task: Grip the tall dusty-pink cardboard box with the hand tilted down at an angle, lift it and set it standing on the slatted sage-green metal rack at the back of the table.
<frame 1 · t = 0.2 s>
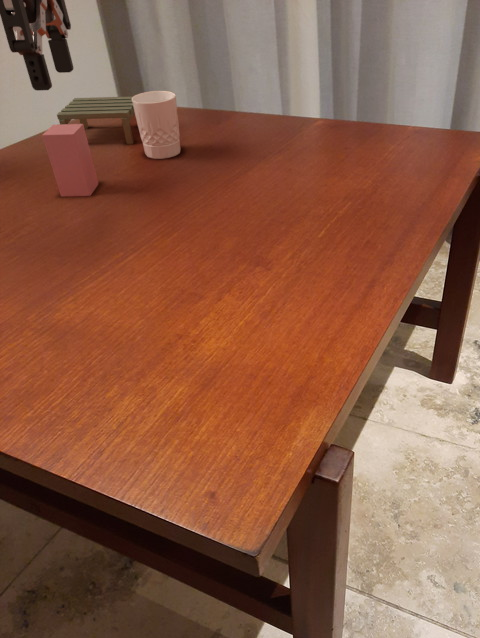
hand: (54, 80, 70), 20 cm above the table, tool pointing down, fingers open, 8 cm apart
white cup: (163, 154, 106), on the table
rack: (107, 135, 115), on the table
pink box: (80, 190, 94), on the table
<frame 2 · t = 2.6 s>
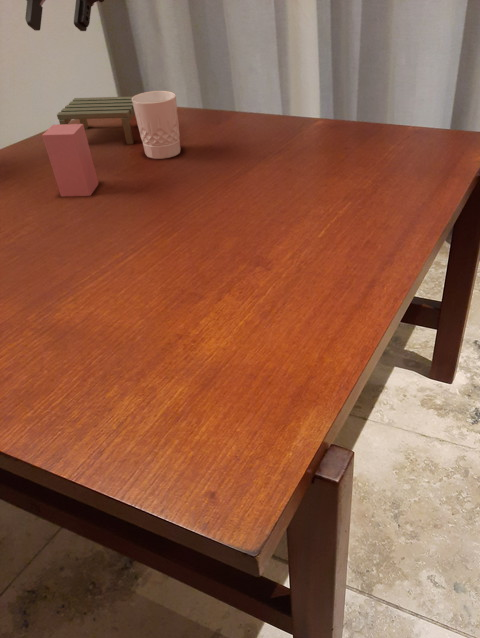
hand: (56, 28, 85), 22 cm above the table, tool tilted 35°, fingers open, 8 cm apart
nothing on the table moved.
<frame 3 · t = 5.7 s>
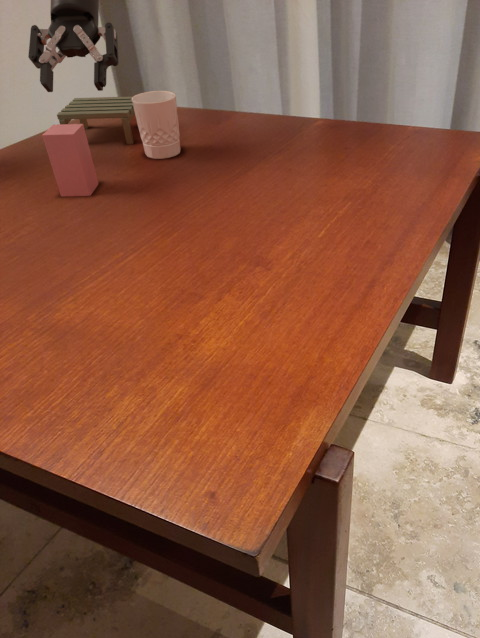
hand: (73, 88, 91), 14 cm above the table, tool tilted 45°, fingers open, 8 cm apart
nothing on the table moved.
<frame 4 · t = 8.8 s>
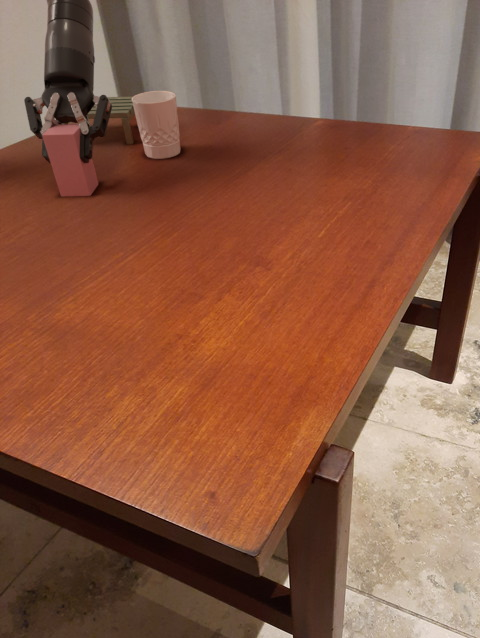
hand: (67, 160, 89), 6 cm above the table, tool tilted 45°, fingers closed on pink box, 5 cm apart
pink box: (80, 190, 94), on the table, touching gripper
everything else where it was.
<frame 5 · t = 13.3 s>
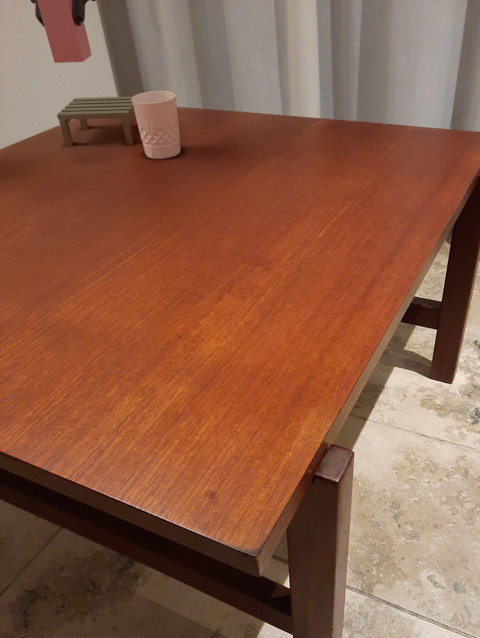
hand: (60, 22, 90), 22 cm above the table, tool tilted 45°, fingers closed on pink box, 5 cm apart
pink box: (73, 58, 95), point 17 cm above the table, touching gripper
everything else where it was.
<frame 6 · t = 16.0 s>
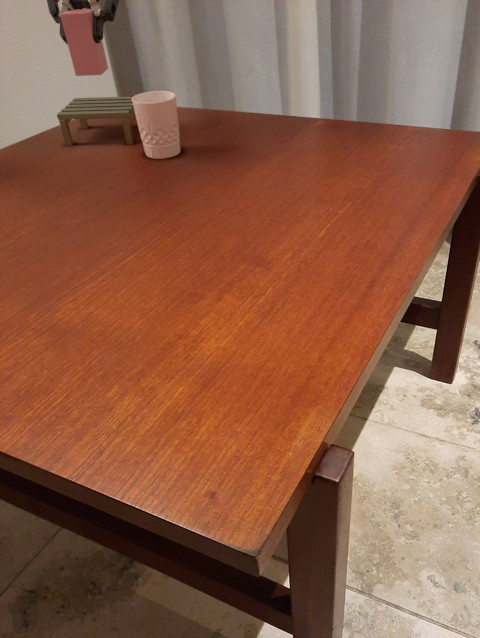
hand: (81, 40, 102), 18 cm above the table, tool tilted 45°, fingers closed on pink box, 5 cm apart
pink box: (92, 72, 107), point 12 cm above the table, touching gripper
everything else where it was.
when the fingers open (12 cm above the table, at t = 18.1 s): pink box stays where it is, resting on rack.
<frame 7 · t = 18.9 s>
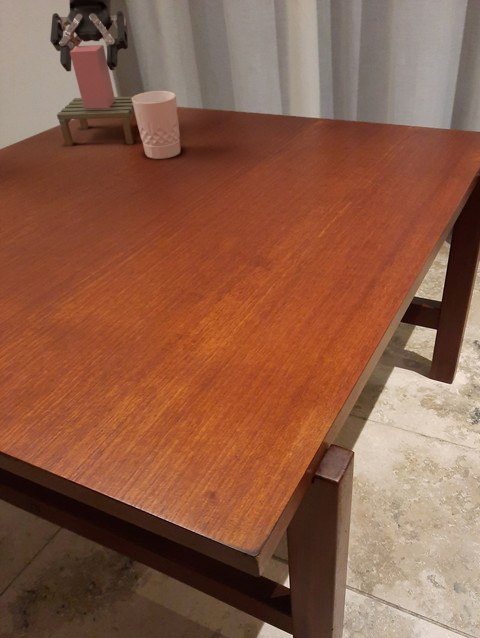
hand: (88, 68, 106), 13 cm above the table, tool tilted 45°, fingers open, 8 cm apart
pink box: (99, 104, 111), point 6 cm above the table, touching rack
everything else where it was.
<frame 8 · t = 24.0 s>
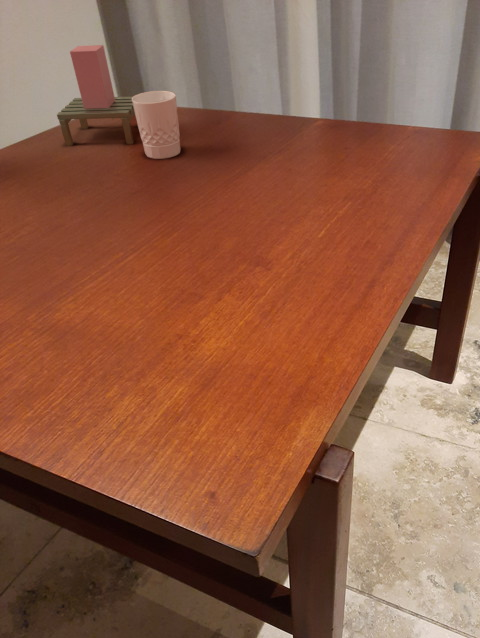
nothing on the table moved.
at the end: pink box inside the target area on the rack (0.1 cm from its centre), point 6.0 cm above the rack's base; pink box tilted 0°; the gripper is holding nothing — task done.
